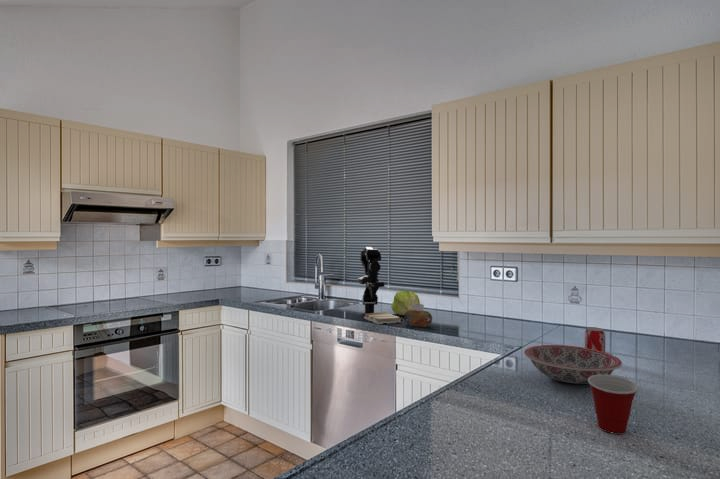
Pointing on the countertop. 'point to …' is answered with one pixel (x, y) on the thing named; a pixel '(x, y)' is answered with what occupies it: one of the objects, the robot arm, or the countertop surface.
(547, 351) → the ceramic bowl
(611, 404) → the plastic cup
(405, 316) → the brown rounded block
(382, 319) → the oak plank
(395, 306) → the lettuce
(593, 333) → the soda can
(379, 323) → the underlay board
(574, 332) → the countertop surface
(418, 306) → the drinking glass
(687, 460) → the countertop surface
